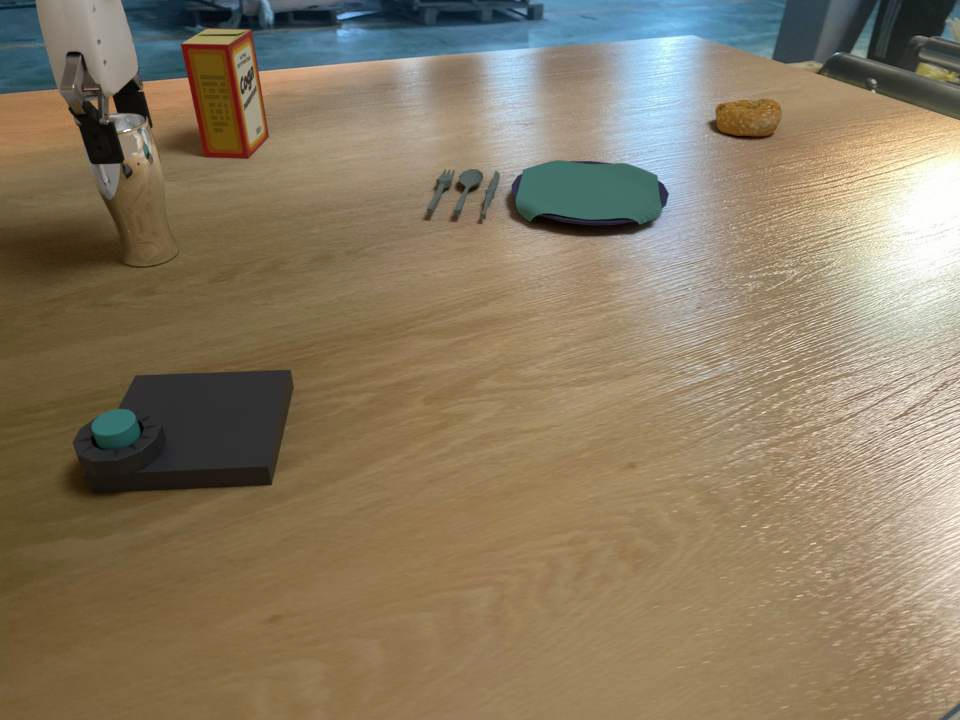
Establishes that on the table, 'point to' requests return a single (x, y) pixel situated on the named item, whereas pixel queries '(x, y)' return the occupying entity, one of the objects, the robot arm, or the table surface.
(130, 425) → the button
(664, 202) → the cutlery set
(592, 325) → the table surface
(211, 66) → the baking soda box
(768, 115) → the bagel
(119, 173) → the beer glass
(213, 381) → the black flat square block
